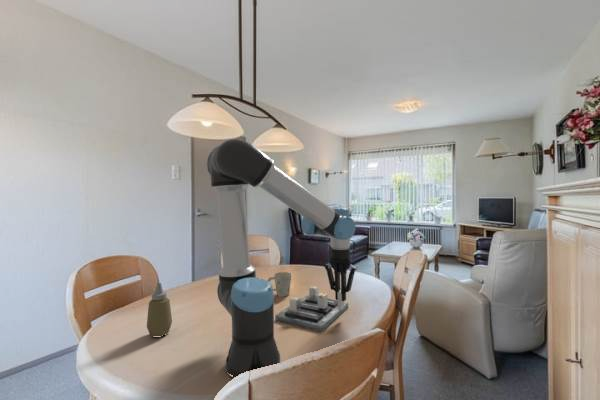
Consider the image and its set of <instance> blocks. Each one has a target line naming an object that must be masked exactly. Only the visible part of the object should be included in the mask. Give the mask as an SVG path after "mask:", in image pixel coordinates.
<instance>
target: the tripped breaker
mask: <svg viewBox="0 0 600 400" xmlns="http://www.w3.org/2000/svg"><path fill="white" fill-rule="evenodd" d="M318 294H319V295H318V308H322V309H325V308H326V307H328V299H329V298H328V293H324V292H319V293H318Z"/></svg>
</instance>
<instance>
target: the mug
mask: <svg viewBox="0 0 600 400" xmlns="http://www.w3.org/2000/svg"><path fill="white" fill-rule="evenodd" d="M272 280H274V283H275V288H273V292H274V291H276V296H277V297H289V295H290V291H291V290H290V289H291V282H292V273H291V272H287V271H280V272H276V273H274V275H273V276H270V277H269V278H268V279H267V281H268V282H269V283H271V281H272Z"/></svg>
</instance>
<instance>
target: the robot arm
mask: <svg viewBox="0 0 600 400" xmlns="http://www.w3.org/2000/svg"><path fill="white" fill-rule="evenodd" d="M206 168H207V172H208V174H209V176H210V183H211V184H210V185H211V189H212V190H214V192H215V193H216V195H217V206H218V207H217V209H218V210H217V211H218V221H219V231H220V234H219V235H220V245H221V246H220V247H221V258H222V268H221V269H220V270H219V271H218V284H217V292H216V293H217V297H218V301H219V302H220V304H221V305H222V306H223V308H224V309H225V310H226V311H227V313H228V314H229V315H230V316H231V343H230V346H229V349H228V353H227V356H226V359H225V371H226V370H227V372H228V373H229V374H231V375H233V378H234V377H236V376H238V375H239V374H241V373H244V372H246V371H250V370H253V369H257V368H261V367H265V366H269V365H273V364H277V363H280V364H281V354H280V351H279V350H278V346H277V342H276V340H275V335H274V334H275V333H274V332H275V331H274V329H275V325H274V324H275V323H274V321H275V319H274V318H275V316H274V313H275V312H274V311H275V310H274V309H275V307H274V306H275V305H274V301H275V295H274V291H273V289H274V288H273V285H272V284H271V282H268V281H267V280H268V279H267V280H266V279H264V278H260V277H256V276H257V275H256V268H255V266H254V265H252V264H251V259H250V246H249V233H248V219H247V206H246V193H245V190H246V189H247V188H248V187H249V185H250V186H252V187H253V188H258V187H259V188H261V189H262V190H263V191H265V192H267V193H268V194H269V195H271V196H272V197H274V198H275V199H277V200H278V201H280V202H281V203H282V204H284V205H285V206H287V207H289V209H291V210H293V211H294V212H295V213H297V214H299V215H300V216H302V219H301V230H302V232H303V233H304V235H306V236H314V235H315V236H316V235H318V236H322V237H329V238H330V260H329V262H328V263H326V264H324V269H325V270H326V274H327V277H328V278H327V279H328V283H329V287H330V290H332V291H334V292H335V294H334V295H335V299H334V300H337V301H338V310H342V309H343V308H344V302H346V300H347V293H349V291H351V289H352V286H353V281H354V278H355V273H356V272H357V270H358V267H357V266H354V265H353V264H352V261H351V249H350V247H351V238H352V237H353V236H354V234H355V232H356V222H355V221H354V219H353V218H352V217H351V216H350V210H349V209H348V208H347V207H333V208H332V207H330V206H329V205H328V204H326V203H325V202H324V201H322V200H321V199H319V198H318V197H317V196H315V195H314V194H313V193H311V192H310V191H309V190H308V189H306V188H305V187H303V185H301V184H300V183H298V181H296V180H294V179H293V178H292V177H291V176H289V175H287V174H286V173H285V172H284V171H282V169H280V168H278V167H277V166H276V165H275V160H274V159H272V158H271V157H269V156H268V155H267V154H266V153H264V152H263V151H261V150H260V149H259V148H258V147H256V146H255V145H253V144H252V143H249V142H248V141H246V140H243V139H240V138H232V139H227V140H225V141H223V142H222V143H221V144H220V145H218V146H216V147H214V148H213V149H212V150H211V151H210V153H209V155H208V157H207V161H206ZM348 270H349V274H348V279H347V273H348ZM227 372H226V373H227ZM233 378H232V379H233Z"/></svg>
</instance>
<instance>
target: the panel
mask: <svg viewBox="0 0 600 400" xmlns="http://www.w3.org/2000/svg"><path fill="white" fill-rule="evenodd" d="M308 293H309V295H306V296H304V297H302V298H301V297H297V296H292V297H290V298H289V306H288V307H286V308H285V309H283V310H282V311H280V312H279V313H277V314H275V316H274V318H275V319H274V321H276V322H281V323H285V324H289V325H293V326H297V327H300V328H305V329H307V330H313V331H316V332H317V331H318V332H323V331H325V330H326V329H327V328H328V327H329V326H330V325H331V324H332V323H333V322H335V321H336V319H338V318H339V317H340V316H341V315H342V314H343V313H345V311H346V310H347V309H348V308H349V302H346V301H344V308H343V309H342V310H338V300H336V299H331V298H328V307H326V308H325V309H322V308H318V295H319V294H320V293H319V286H316V285H312V286H309V289H308Z"/></svg>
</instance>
